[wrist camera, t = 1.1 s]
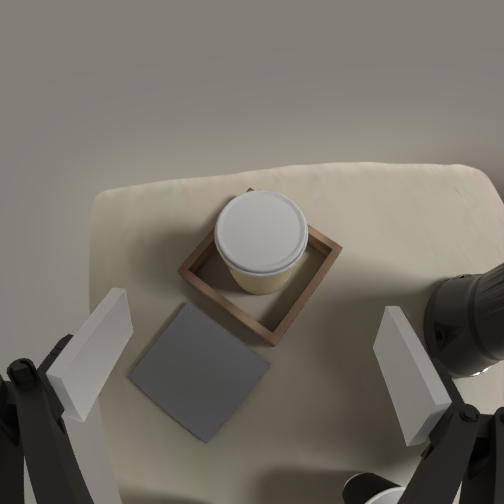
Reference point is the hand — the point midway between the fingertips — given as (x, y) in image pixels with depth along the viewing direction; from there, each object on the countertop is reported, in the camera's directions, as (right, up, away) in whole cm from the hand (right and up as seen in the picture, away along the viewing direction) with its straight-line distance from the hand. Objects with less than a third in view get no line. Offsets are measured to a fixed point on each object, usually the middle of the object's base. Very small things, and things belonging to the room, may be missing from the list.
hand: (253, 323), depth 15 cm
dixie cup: (+14, -27, +15) cm, 34 cm away
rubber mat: (-7, -12, +22) cm, 25 cm away
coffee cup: (+1, +1, +27) cm, 27 cm away
